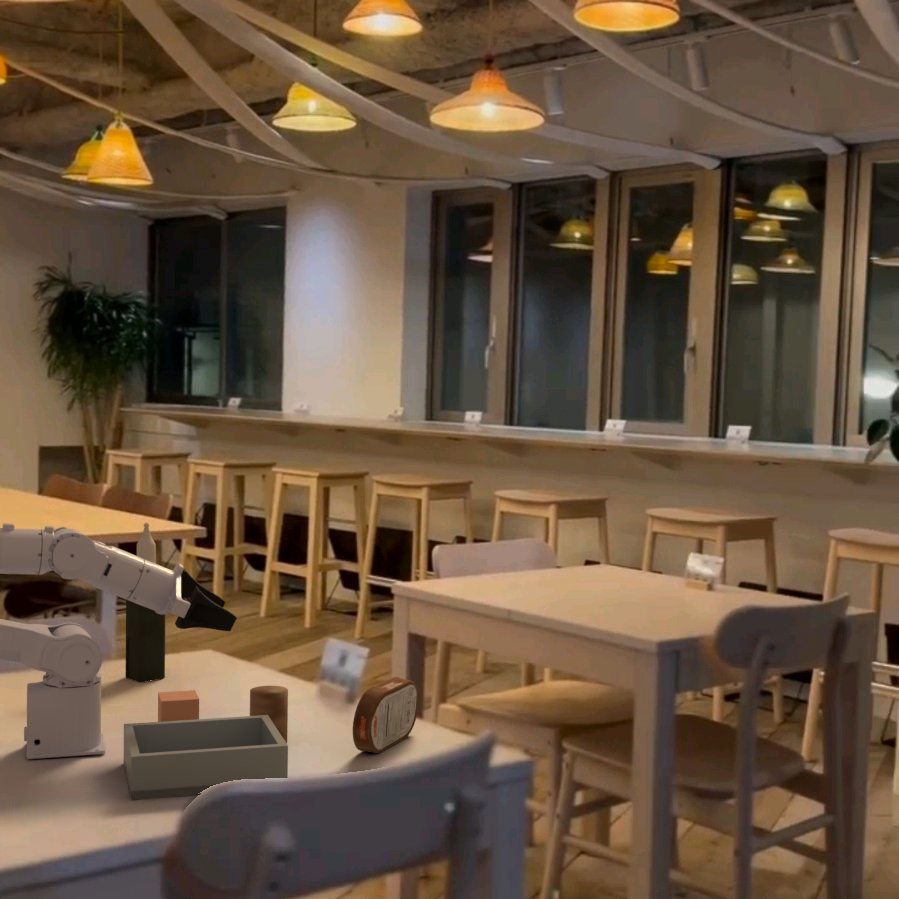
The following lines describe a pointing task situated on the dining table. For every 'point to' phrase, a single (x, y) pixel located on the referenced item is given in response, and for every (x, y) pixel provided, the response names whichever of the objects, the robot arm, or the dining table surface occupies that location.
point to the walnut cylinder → (271, 705)
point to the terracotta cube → (178, 706)
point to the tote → (200, 754)
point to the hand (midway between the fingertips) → (227, 615)
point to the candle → (145, 629)
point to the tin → (385, 715)
